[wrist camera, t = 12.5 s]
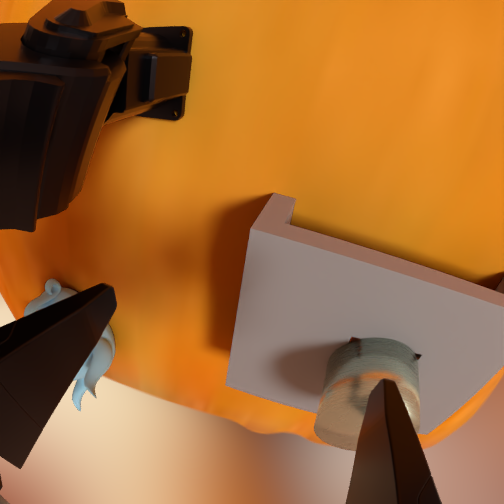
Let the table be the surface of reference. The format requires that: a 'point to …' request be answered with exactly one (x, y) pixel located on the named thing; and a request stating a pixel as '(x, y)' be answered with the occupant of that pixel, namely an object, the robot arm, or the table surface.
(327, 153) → the table surface
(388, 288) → the base
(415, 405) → the grey beige cylinder
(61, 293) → the teapot
